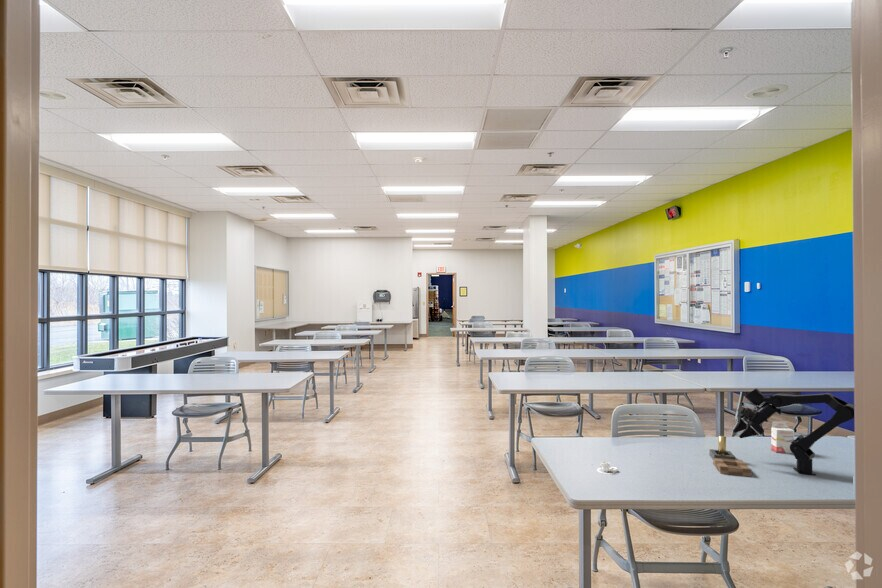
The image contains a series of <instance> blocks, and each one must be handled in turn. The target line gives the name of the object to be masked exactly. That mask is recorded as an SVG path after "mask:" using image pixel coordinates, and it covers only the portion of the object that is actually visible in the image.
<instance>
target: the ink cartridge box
mask: <svg viewBox="0 0 882 588" xmlns="http://www.w3.org/2000/svg"><path fill="white" fill-rule="evenodd" d="M789 425H790V423H789V421H772V422H771V428H770V429H771V433H770V434H771V436H770V437H771V439H770V440H771V441H770V442H771V443H770V446H771V447H770V450H771V451H773V452H775V453H780V454H793V453H792V452H791V450H790V445H791V444H792V443H791V441H793V440H795V430H794V429H792V428H789Z"/></svg>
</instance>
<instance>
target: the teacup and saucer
mask: <svg viewBox="0 0 882 588" xmlns="http://www.w3.org/2000/svg"><path fill="white" fill-rule="evenodd" d="M610 464H611V462H608V461H602V462H601V463H600V465H599V467H598V468H596V471H597V472H598V473H600V474H604V475H613V474H615V473H616V472H618V471H619V468H618V467H616V466H611V467H610ZM601 470H602V471H601ZM609 471H610V473H609Z"/></svg>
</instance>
